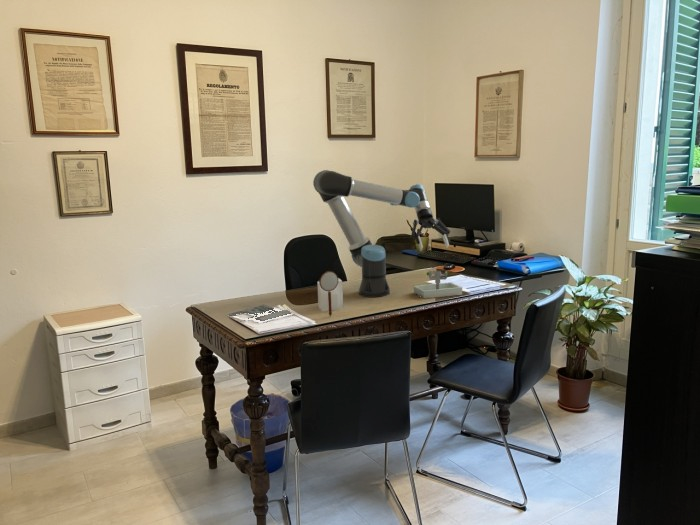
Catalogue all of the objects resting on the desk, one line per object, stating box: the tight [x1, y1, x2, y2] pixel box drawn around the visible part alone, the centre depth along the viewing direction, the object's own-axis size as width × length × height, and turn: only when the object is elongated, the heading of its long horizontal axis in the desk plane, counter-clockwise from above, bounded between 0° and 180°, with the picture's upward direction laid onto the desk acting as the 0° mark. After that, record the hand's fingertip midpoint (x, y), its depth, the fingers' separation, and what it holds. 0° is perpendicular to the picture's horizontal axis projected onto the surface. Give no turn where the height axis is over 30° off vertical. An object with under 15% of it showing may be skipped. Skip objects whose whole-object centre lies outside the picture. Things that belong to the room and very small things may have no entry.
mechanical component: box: [426, 270, 450, 290], centre depth 269 cm, size 3×10×10 cm, turn 89°
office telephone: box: [227, 303, 292, 321], centre depth 244 cm, size 23×3×20 cm
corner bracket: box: [316, 277, 344, 313], centre depth 252 cm, size 11×11×12 cm
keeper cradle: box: [413, 281, 463, 299], centre depth 270 cm, size 20×12×4 cm, turn 106°
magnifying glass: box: [318, 270, 339, 318], centre depth 236 cm, size 9×2×20 cm, turn 116°
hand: (434, 247), depth 272 cm, fingers open, 13 cm apart
